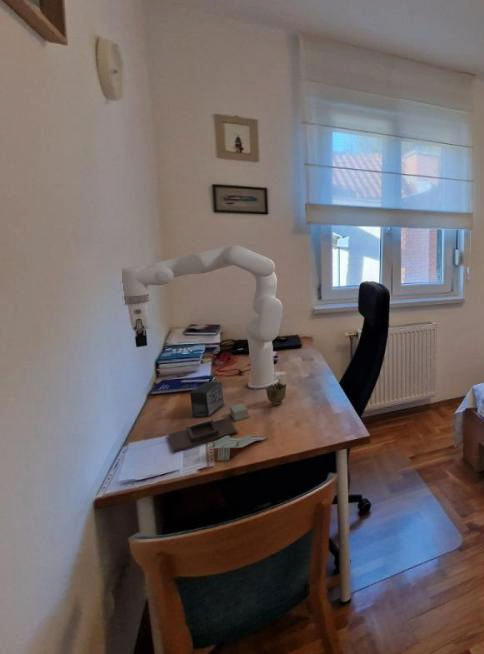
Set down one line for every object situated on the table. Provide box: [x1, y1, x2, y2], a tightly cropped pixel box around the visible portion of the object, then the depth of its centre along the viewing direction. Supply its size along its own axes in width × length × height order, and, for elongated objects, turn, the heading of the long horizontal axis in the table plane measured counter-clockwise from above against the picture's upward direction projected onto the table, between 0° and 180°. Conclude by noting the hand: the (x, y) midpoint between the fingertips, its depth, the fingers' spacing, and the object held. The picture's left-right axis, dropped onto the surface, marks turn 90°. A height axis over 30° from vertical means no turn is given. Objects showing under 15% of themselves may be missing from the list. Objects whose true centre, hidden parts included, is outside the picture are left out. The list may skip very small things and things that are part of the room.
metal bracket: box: [205, 434, 267, 462], centre depth 139 cm, size 14×6×15 cm
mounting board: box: [168, 417, 238, 454], centre depth 147 cm, size 18×14×2 cm
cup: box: [265, 382, 287, 407], centre depth 172 cm, size 8×7×8 cm
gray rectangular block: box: [229, 402, 249, 422], centre depth 162 cm, size 4×7×4 cm, turn 44°
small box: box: [189, 381, 225, 418], centre depth 165 cm, size 11×6×10 cm, turn 5°
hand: (141, 343), depth 158 cm, fingers open, 9 cm apart
